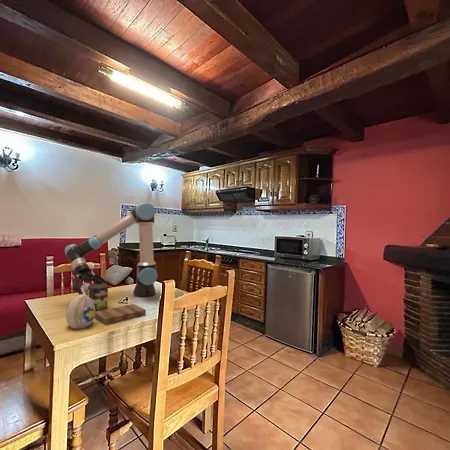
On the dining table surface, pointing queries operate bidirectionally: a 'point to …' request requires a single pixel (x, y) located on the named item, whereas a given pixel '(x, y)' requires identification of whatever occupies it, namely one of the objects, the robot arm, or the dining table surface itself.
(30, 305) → the dining table surface
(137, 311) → the walnut board
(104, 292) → the coffee can
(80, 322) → the decorative egg
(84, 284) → the game die
